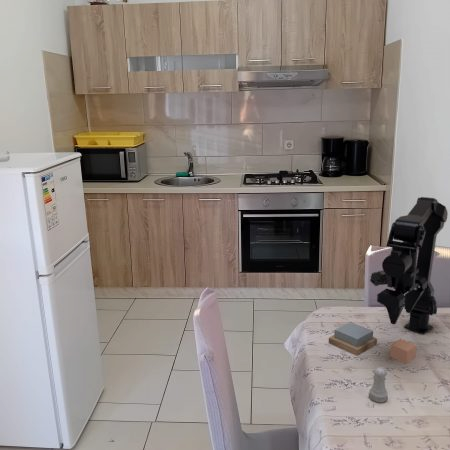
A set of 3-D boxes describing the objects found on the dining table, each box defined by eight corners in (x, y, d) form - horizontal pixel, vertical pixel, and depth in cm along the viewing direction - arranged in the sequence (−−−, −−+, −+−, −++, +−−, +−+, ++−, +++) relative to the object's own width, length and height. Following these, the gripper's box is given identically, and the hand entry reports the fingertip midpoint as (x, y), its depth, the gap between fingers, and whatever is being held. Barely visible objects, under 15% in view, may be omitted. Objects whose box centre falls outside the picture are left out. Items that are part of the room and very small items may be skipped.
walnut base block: (348, 334, 148) (348, 327, 147) (376, 346, 140) (377, 338, 140) (328, 345, 141) (328, 337, 141) (356, 357, 134) (357, 350, 133)
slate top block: (350, 329, 146) (350, 321, 145) (372, 338, 140) (373, 330, 139) (334, 337, 141) (334, 329, 140) (356, 347, 135) (357, 339, 134)
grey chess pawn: (388, 404, 112) (391, 374, 110) (369, 402, 113) (371, 372, 111) (386, 393, 116) (388, 364, 114) (367, 391, 117) (369, 363, 115)
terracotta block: (399, 351, 136) (400, 338, 135) (415, 357, 132) (416, 345, 131) (389, 357, 133) (391, 344, 132) (406, 364, 129) (407, 351, 128)
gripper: (392, 250, 138) (388, 299, 142) (360, 268, 125) (357, 321, 129) (430, 258, 130) (425, 310, 134) (400, 278, 117) (396, 334, 122)
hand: (400, 318), depth 130 cm, fingers open, 9 cm apart
